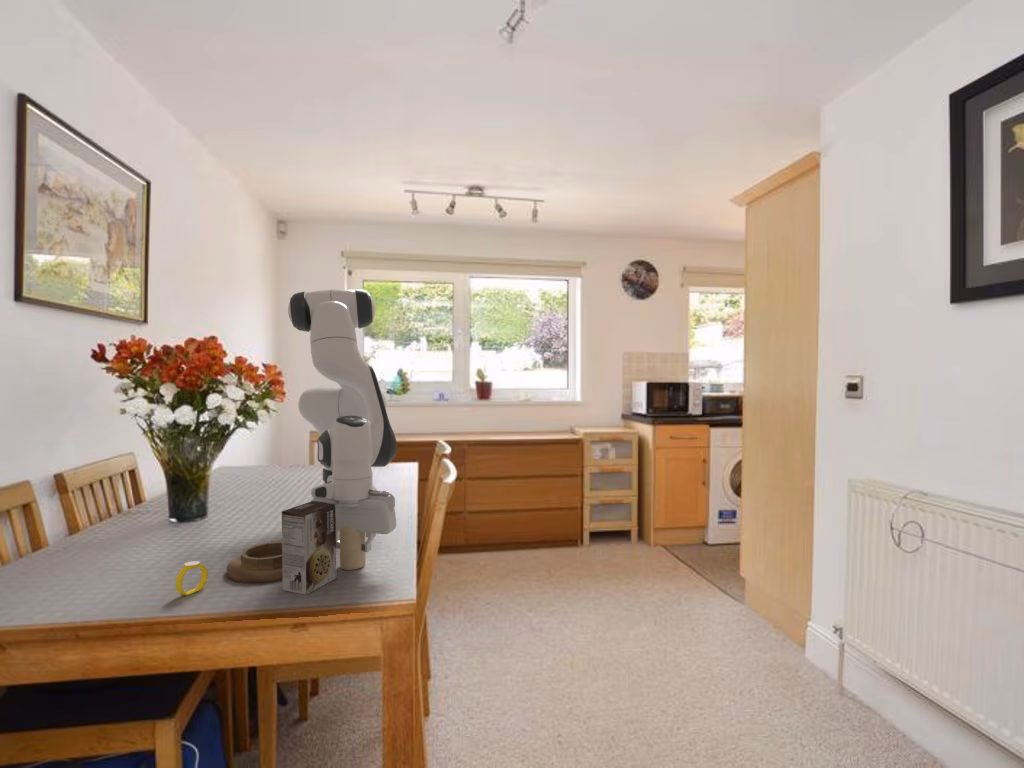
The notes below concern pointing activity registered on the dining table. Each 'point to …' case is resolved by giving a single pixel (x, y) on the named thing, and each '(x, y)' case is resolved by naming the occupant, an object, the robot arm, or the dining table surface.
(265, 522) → the dining table surface
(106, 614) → the dining table surface
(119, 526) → the dining table surface
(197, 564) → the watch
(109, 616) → the dining table surface
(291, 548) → the coffee box
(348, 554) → the candle
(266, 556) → the candle plate
